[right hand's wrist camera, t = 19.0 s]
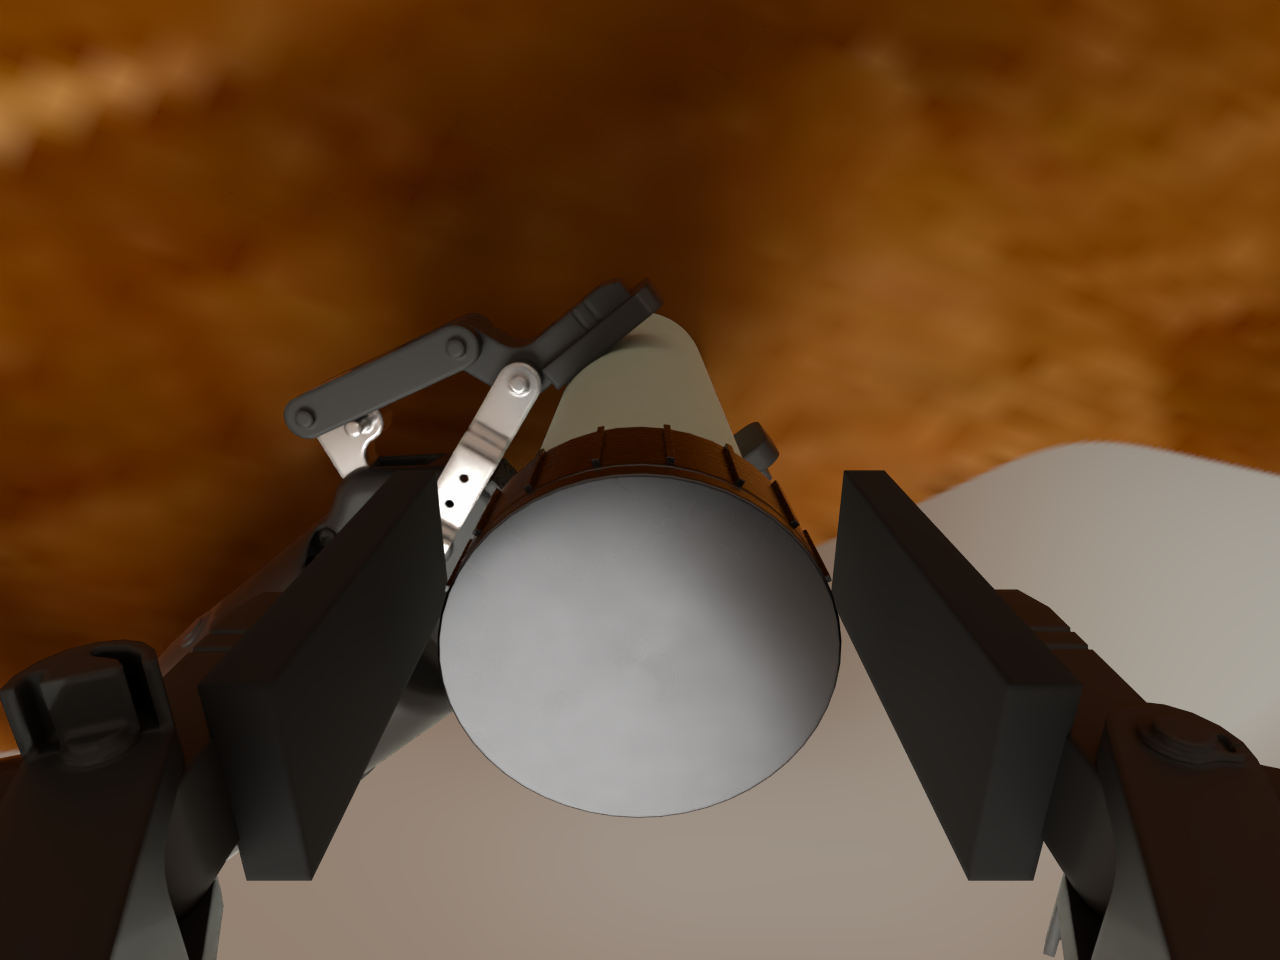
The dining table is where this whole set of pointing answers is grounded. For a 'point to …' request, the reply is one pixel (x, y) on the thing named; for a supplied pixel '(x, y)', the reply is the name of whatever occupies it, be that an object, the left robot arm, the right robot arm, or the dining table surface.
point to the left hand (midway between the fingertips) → (712, 368)
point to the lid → (639, 626)
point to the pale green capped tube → (643, 389)
